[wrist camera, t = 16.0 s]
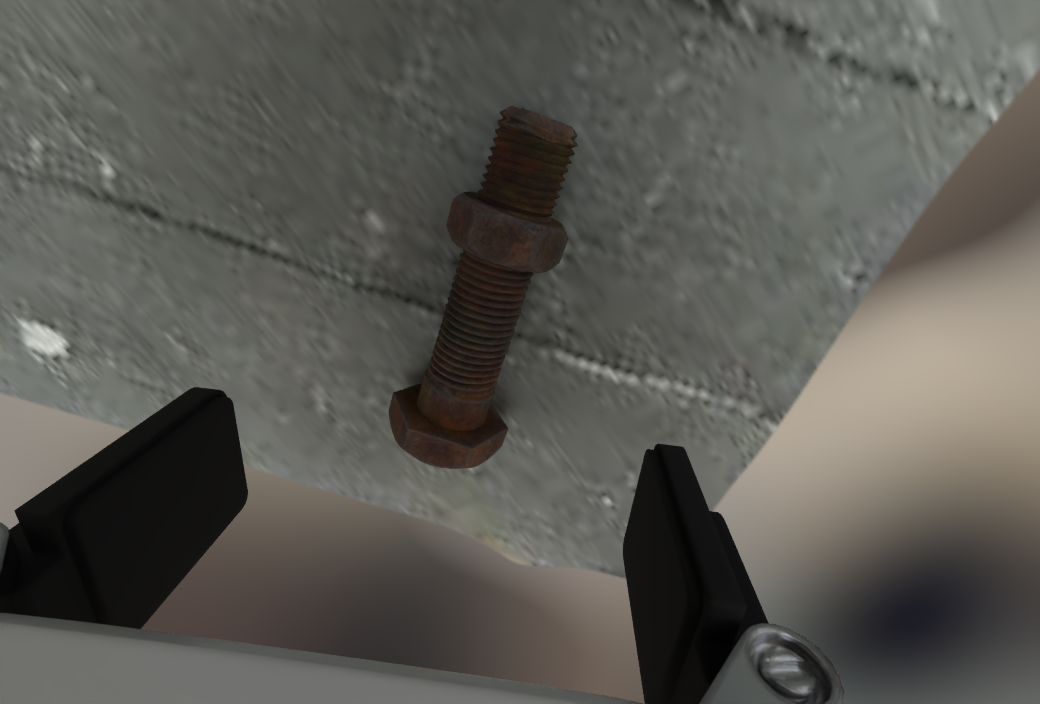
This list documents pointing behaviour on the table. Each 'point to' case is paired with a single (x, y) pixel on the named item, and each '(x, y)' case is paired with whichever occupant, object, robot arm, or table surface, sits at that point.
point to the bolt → (487, 292)
